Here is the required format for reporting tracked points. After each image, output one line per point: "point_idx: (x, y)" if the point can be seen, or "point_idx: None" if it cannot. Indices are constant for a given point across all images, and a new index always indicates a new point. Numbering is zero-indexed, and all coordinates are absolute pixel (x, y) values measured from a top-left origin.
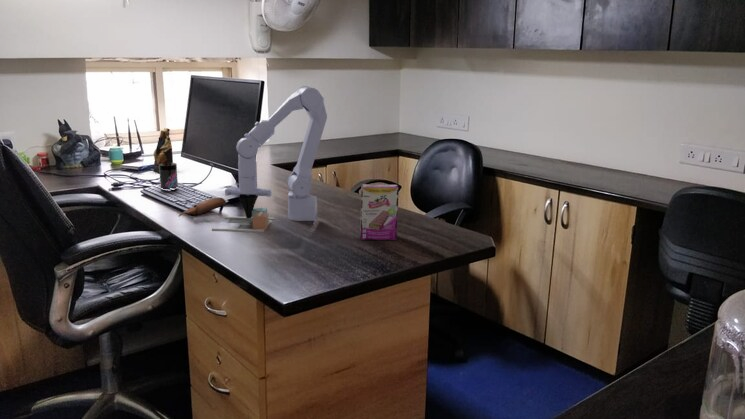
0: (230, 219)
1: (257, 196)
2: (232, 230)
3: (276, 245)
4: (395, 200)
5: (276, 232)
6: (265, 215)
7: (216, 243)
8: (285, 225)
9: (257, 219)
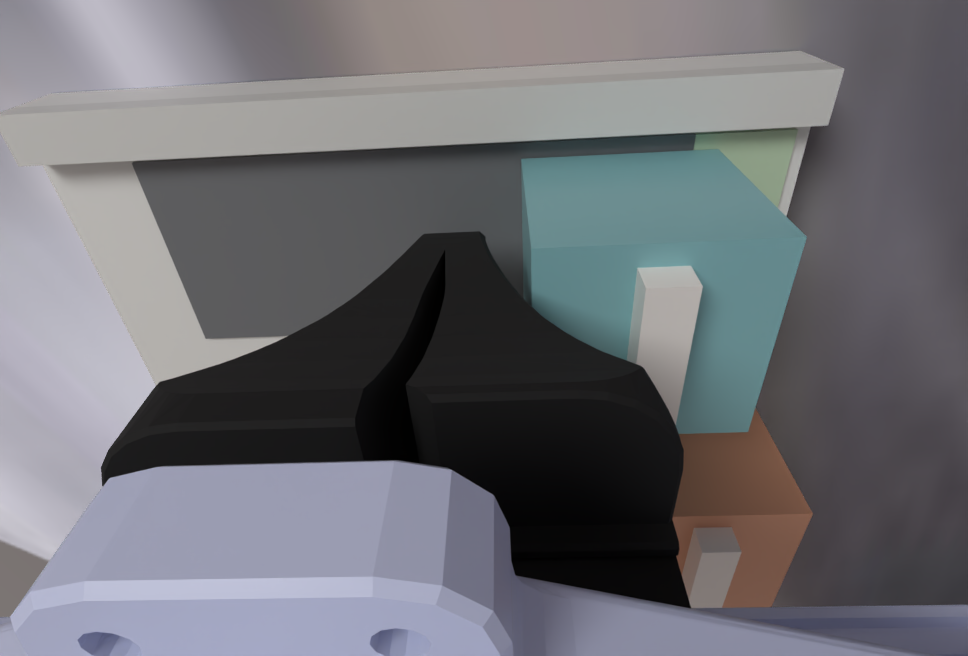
0: (148, 193)
1: (671, 501)
2: None
3: None
4: None
5: (808, 416)
6: (767, 582)
7: None
8: (963, 153)
9: None
